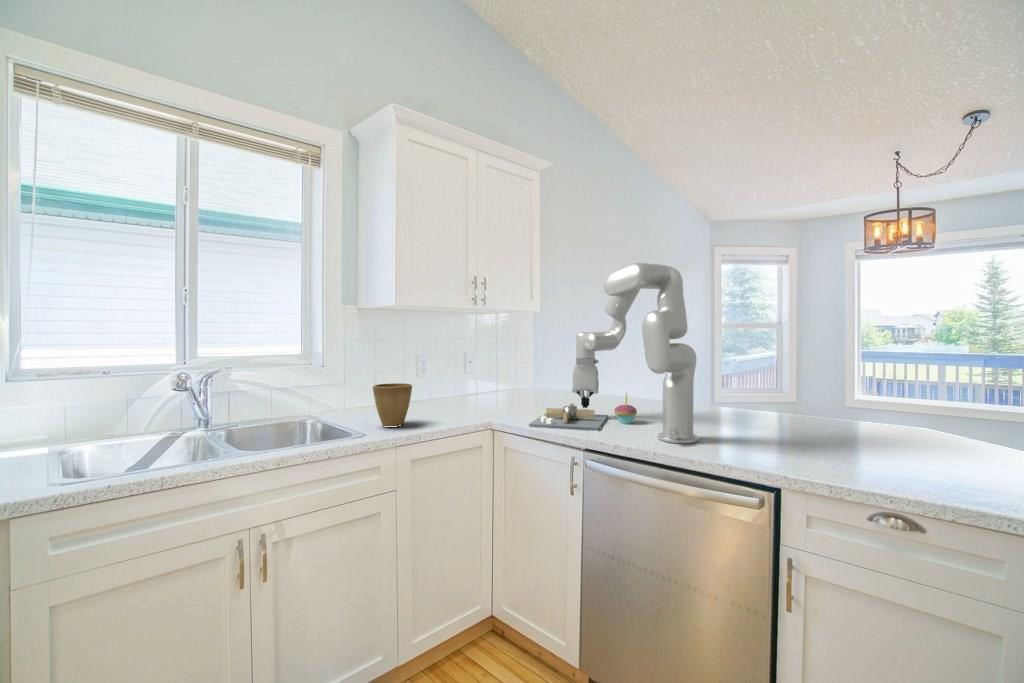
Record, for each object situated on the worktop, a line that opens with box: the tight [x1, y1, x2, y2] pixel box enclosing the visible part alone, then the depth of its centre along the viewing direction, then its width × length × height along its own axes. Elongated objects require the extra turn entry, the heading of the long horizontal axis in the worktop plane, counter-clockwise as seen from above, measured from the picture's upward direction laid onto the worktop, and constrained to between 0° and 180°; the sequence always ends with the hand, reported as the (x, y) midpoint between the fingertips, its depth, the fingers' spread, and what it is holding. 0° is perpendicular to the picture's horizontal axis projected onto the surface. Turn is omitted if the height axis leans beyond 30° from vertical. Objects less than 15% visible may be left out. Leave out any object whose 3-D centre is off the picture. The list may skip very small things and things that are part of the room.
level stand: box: [528, 411, 609, 431], centre depth 185 cm, size 26×26×3 cm
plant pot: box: [372, 382, 413, 427], centre depth 181 cm, size 15×15×16 cm
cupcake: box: [614, 392, 638, 425], centre depth 181 cm, size 9×8×12 cm
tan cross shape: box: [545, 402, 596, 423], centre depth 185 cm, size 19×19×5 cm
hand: (585, 407), depth 190 cm, fingers closed
